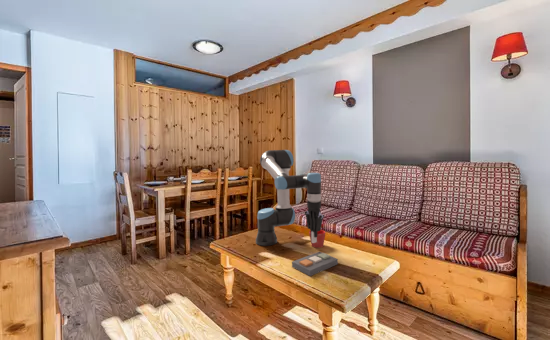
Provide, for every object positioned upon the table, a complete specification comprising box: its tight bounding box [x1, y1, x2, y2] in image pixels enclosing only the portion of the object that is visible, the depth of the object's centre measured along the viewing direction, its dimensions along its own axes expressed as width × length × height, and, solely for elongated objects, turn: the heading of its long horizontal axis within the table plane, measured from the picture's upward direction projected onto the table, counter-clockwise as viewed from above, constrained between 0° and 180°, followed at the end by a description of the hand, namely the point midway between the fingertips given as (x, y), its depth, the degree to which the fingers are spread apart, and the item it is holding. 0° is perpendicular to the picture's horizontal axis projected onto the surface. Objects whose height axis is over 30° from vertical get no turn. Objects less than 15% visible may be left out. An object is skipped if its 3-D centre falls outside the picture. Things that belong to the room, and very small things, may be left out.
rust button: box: [299, 259, 313, 267], centre depth 142 cm, size 5×5×3 cm
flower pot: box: [308, 229, 326, 249], centre depth 176 cm, size 11×11×10 cm
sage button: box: [317, 252, 331, 259], centre depth 151 cm, size 5×5×3 cm
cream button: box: [308, 256, 322, 263], centre depth 147 cm, size 5×5×3 cm
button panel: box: [291, 251, 339, 277], centre depth 147 cm, size 14×22×3 cm, turn 128°
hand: (314, 242), depth 147 cm, fingers closed
